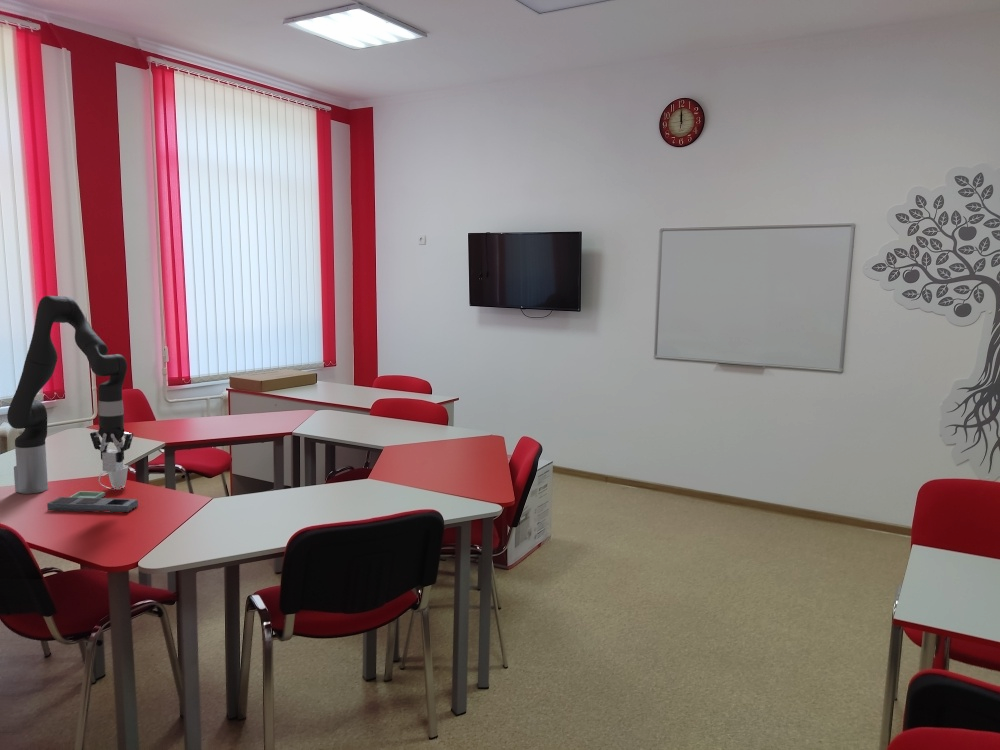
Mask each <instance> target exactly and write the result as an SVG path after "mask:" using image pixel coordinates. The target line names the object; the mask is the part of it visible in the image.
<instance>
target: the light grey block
mask: <svg viewBox="0 0 1000 750" xmlns="http://www.w3.org/2000/svg"><path fill="white" fill-rule="evenodd" d="M106 450H107V451H105V452H102V460H101V462H102V472H104V471H111V472H117V471H118V470H120V469H122V468H123V465H124V460H123V461H122V462H120V463H118V459H117V452H118V451H117V449H112V448H110V449H106Z"/></svg>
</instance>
